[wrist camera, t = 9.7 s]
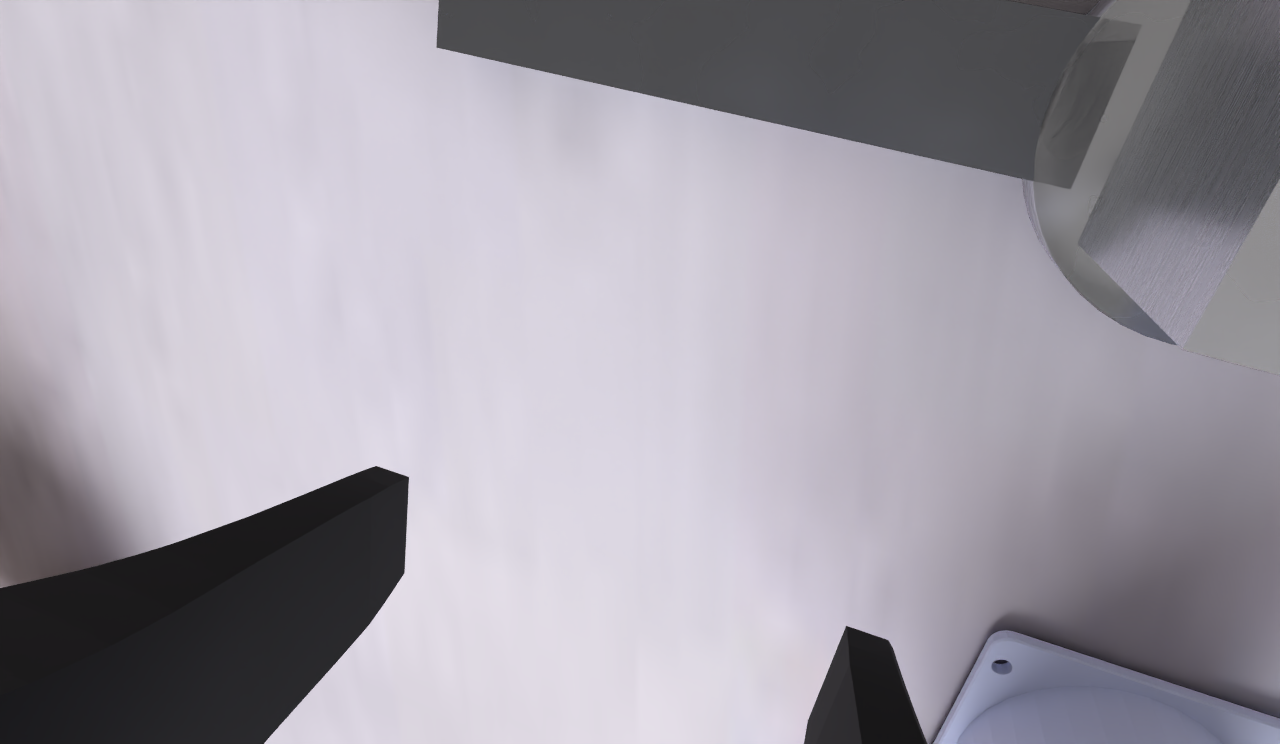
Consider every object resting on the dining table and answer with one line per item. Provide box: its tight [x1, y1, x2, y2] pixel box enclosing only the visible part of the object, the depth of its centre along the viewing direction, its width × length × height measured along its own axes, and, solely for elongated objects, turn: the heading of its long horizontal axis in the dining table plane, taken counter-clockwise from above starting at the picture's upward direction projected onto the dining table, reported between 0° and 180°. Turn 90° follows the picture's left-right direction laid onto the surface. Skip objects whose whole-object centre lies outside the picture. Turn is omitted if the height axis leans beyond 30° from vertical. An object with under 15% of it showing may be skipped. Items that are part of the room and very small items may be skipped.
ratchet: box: [437, 0, 1191, 345], centre depth 14 cm, size 8×21×5 cm, turn 80°
